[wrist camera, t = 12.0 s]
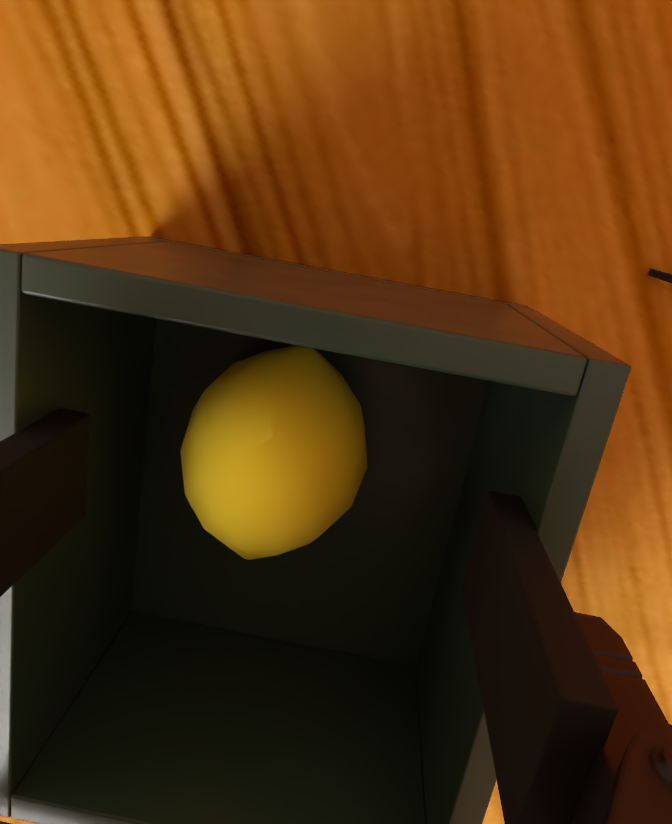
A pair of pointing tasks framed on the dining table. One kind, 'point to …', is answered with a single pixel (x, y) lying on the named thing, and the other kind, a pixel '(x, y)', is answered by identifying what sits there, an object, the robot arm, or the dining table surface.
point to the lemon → (274, 452)
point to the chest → (282, 574)
